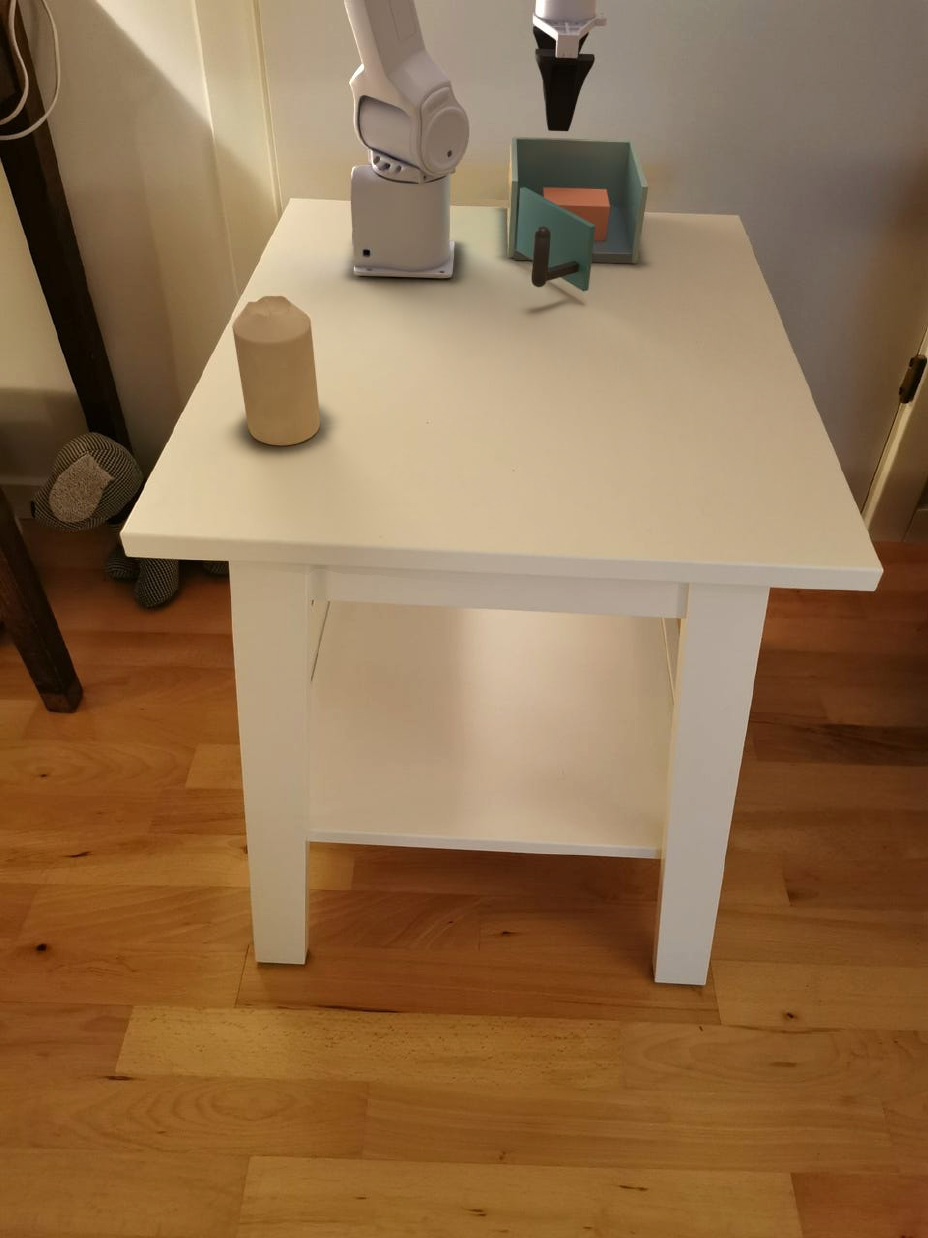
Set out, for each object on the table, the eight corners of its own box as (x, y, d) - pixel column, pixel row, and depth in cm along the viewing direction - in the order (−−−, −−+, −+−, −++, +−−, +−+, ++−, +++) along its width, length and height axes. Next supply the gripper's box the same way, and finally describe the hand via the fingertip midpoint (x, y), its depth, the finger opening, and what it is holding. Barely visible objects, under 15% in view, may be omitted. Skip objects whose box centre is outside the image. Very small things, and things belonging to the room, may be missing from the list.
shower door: (475, 261, 94) (477, 193, 89) (521, 248, 96) (525, 182, 91) (541, 304, 87) (546, 234, 83) (588, 290, 90) (596, 220, 85)
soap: (605, 241, 98) (610, 206, 96) (541, 239, 98) (544, 204, 96) (602, 223, 101) (606, 188, 99) (540, 221, 101) (542, 186, 99)
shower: (507, 259, 97) (511, 182, 92) (507, 209, 106) (510, 136, 101) (636, 263, 97) (648, 186, 92) (625, 212, 106) (634, 139, 101)
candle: (307, 450, 73) (294, 327, 66) (237, 441, 73) (217, 317, 66) (329, 411, 76) (319, 290, 69) (263, 403, 77) (245, 282, 70)
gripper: (619, -22, 85) (600, 142, 94) (606, -55, 95) (590, 96, 105) (538, -24, 85) (528, 140, 95) (534, -57, 95) (525, 94, 105)
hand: (556, 117), depth 100 cm, fingers open, 7 cm apart
